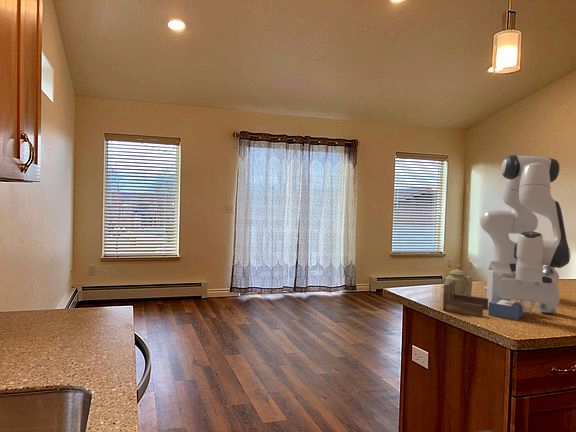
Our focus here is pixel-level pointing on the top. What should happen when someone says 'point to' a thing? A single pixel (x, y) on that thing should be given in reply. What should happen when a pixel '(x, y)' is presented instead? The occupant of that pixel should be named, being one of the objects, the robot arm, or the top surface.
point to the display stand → (462, 301)
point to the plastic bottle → (545, 306)
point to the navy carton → (505, 309)
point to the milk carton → (496, 279)
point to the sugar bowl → (461, 281)
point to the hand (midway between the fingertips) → (527, 312)
